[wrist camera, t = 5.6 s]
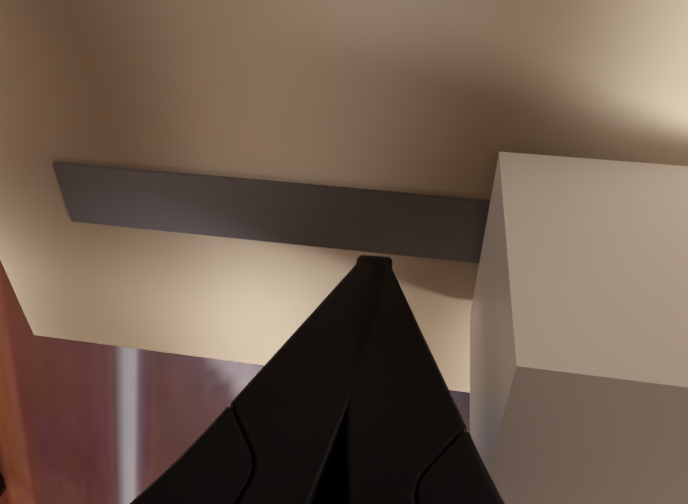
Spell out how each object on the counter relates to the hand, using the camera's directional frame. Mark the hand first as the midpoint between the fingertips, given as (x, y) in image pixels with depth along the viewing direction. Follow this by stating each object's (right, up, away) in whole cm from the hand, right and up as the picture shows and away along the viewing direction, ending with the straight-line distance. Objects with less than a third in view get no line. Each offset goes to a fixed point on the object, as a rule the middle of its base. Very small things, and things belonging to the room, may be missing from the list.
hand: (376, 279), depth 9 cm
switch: (+4, 0, +1) cm, 4 cm away
